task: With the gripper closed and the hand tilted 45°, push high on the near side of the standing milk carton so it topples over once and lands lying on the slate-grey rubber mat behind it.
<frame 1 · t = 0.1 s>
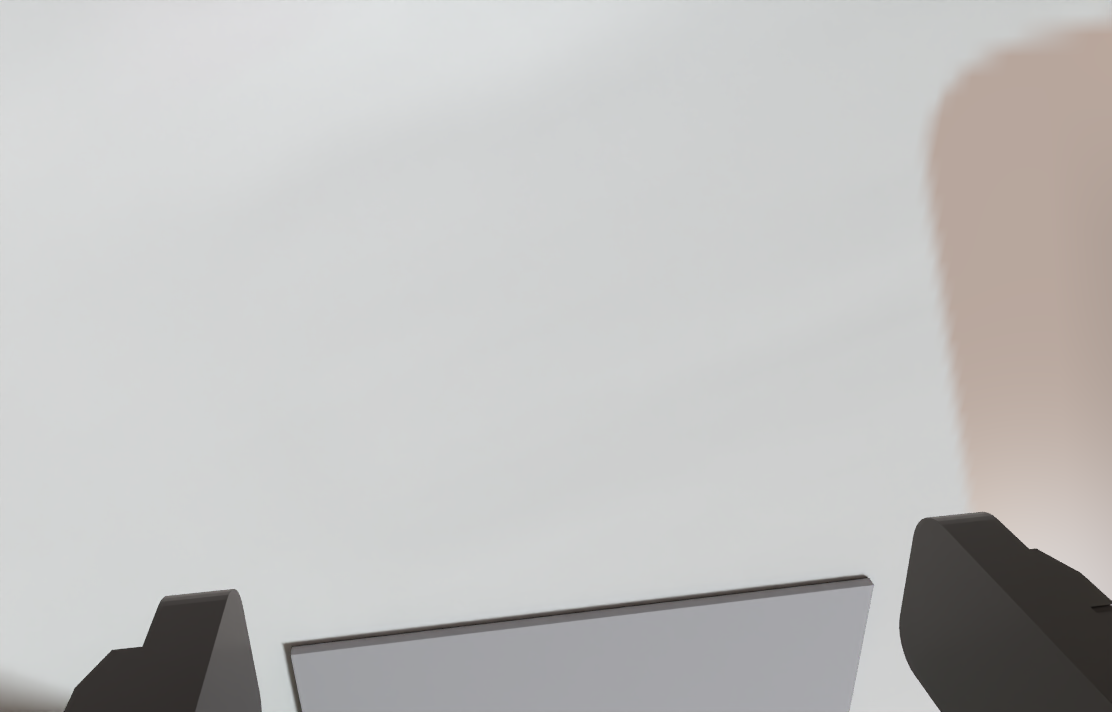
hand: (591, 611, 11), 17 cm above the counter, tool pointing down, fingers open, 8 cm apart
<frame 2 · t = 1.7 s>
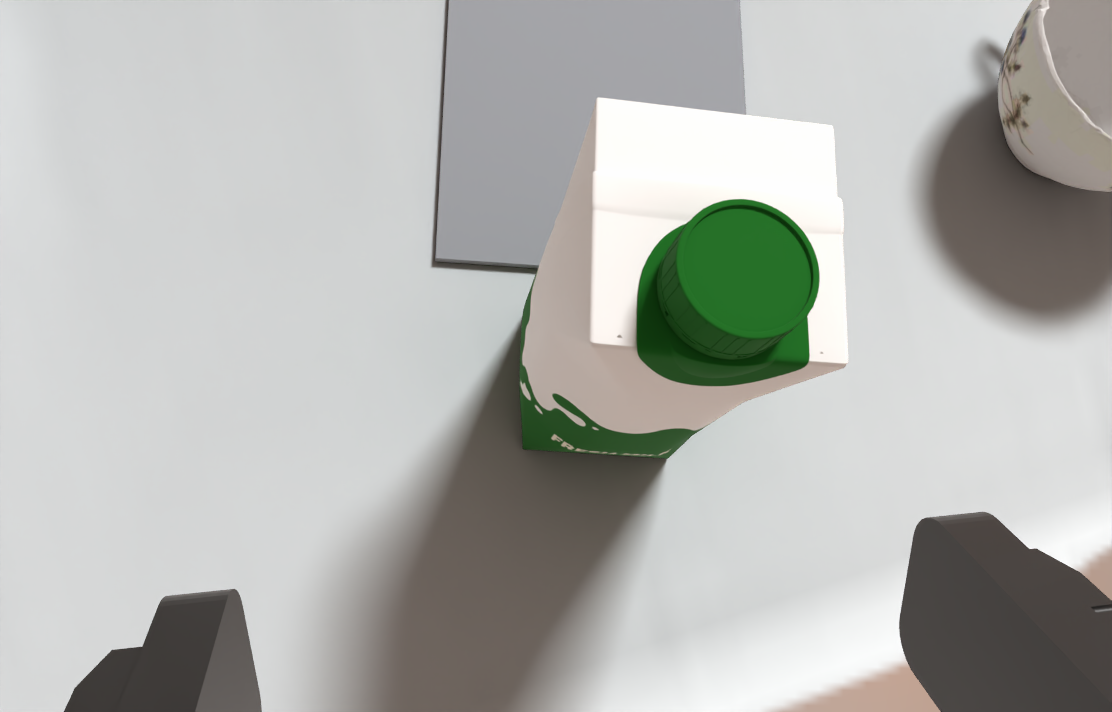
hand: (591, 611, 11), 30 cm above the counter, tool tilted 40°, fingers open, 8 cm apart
milk carton: (597, 380, 43), on the counter
teacup: (1039, 118, 52), on the counter
slate mat: (597, 78, 48), on the counter
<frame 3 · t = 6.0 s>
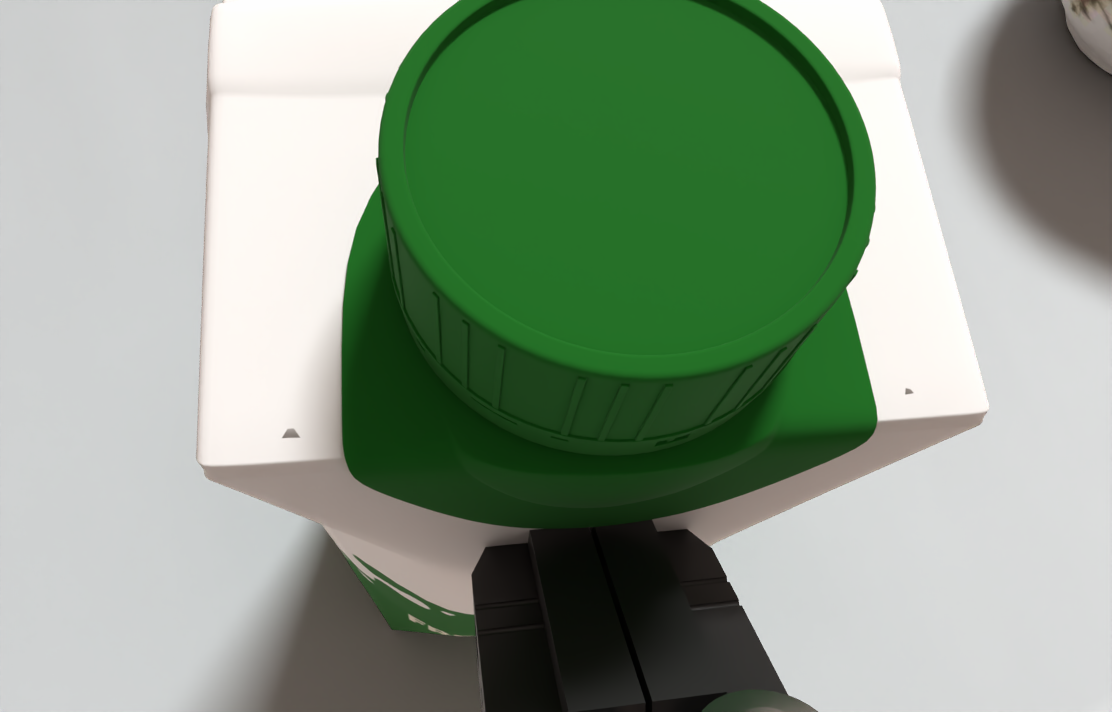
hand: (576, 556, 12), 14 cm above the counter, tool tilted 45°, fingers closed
milk carton: (508, 492, 27), on the counter, touching gripper
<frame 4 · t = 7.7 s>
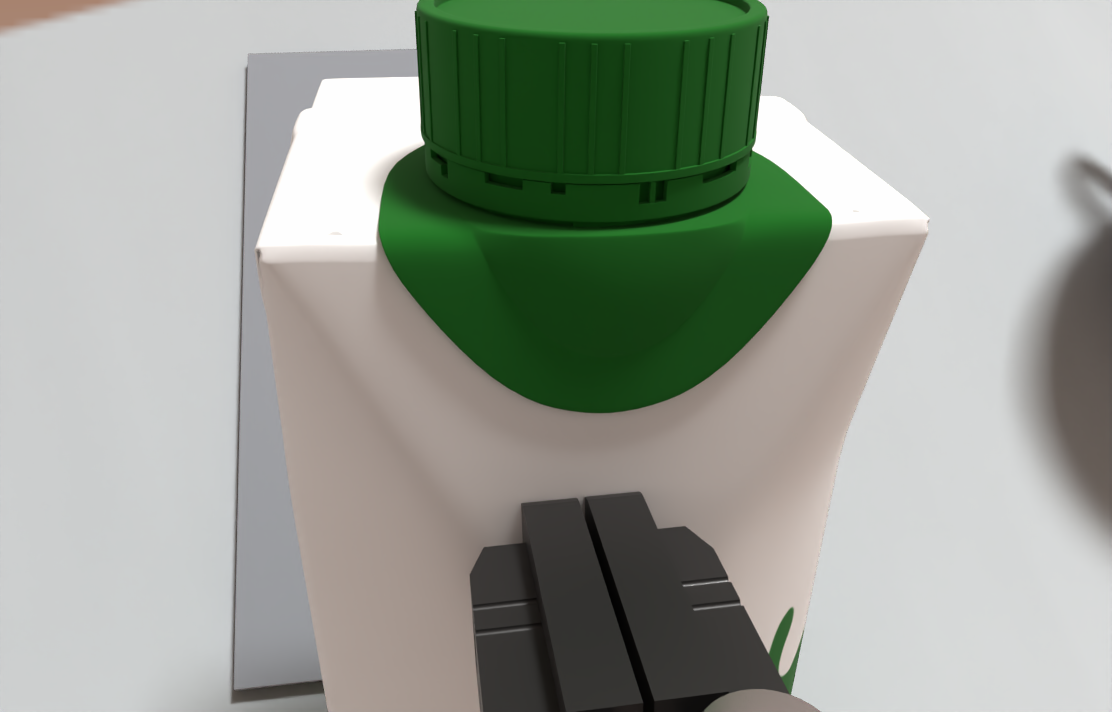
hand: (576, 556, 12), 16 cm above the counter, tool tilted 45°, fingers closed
slate mat: (492, 313, 30), on the counter
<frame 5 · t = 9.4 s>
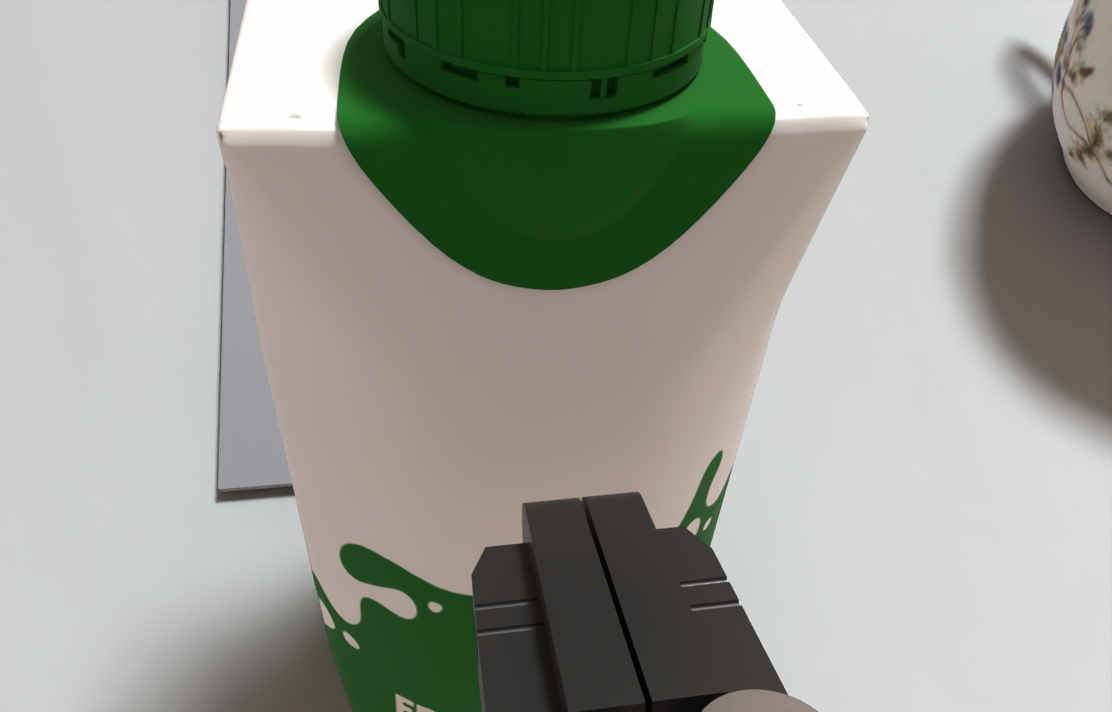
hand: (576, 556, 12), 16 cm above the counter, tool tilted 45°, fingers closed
milk carton: (504, 641, 25), point 1 cm above the counter
slate mat: (460, 171, 32), on the counter
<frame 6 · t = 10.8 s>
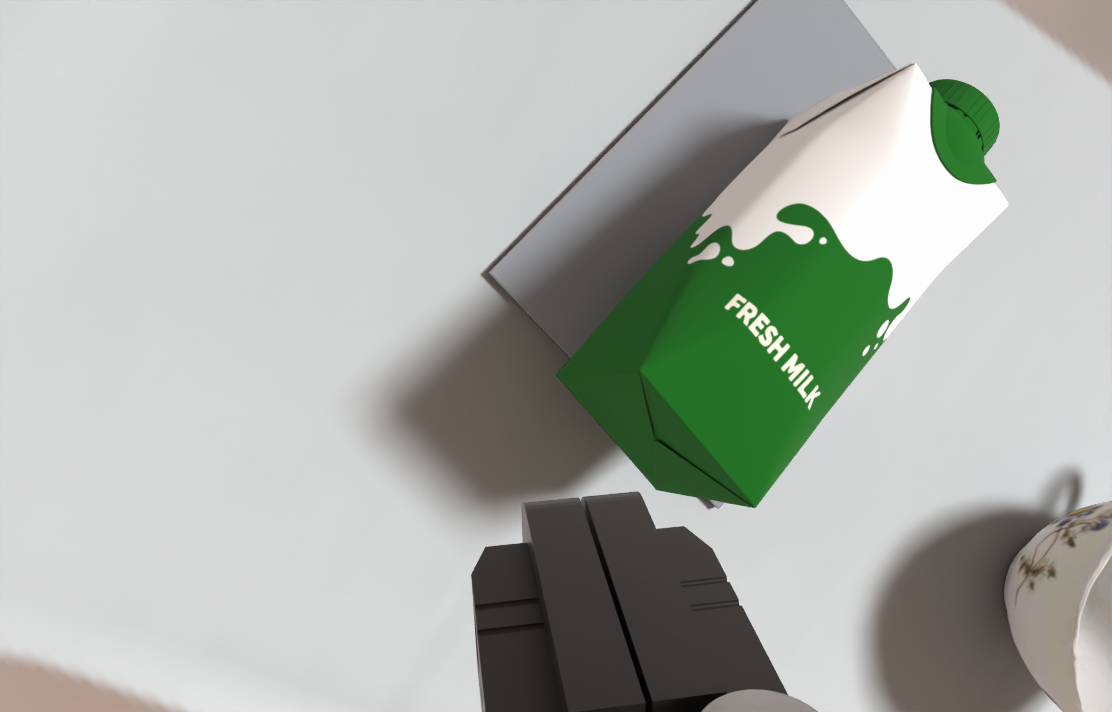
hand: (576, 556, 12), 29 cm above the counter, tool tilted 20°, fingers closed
milk carton: (644, 441, 35), point 7 cm above the counter, touching slate mat
teacup: (1053, 565, 50), on the counter
slate mat: (758, 232, 44), on the counter
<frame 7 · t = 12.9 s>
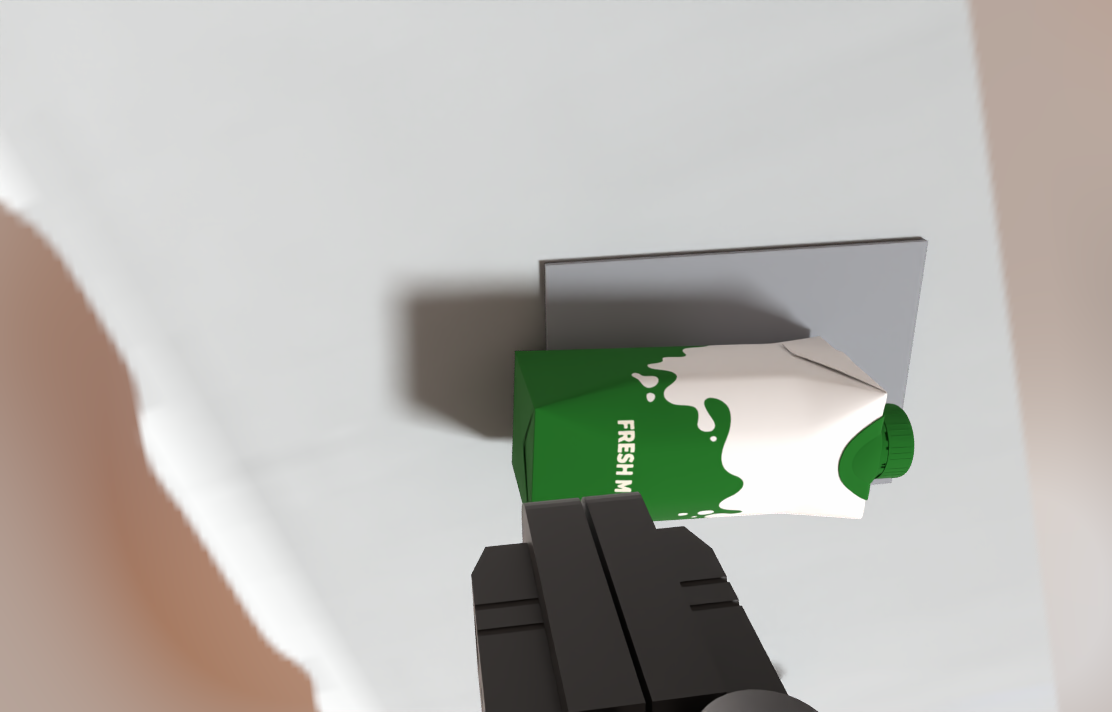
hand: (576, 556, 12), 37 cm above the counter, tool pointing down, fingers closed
milk carton: (517, 438, 47), point 5 cm above the counter, touching slate mat
slate mat: (731, 380, 54), on the counter
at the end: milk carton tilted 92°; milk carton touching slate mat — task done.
